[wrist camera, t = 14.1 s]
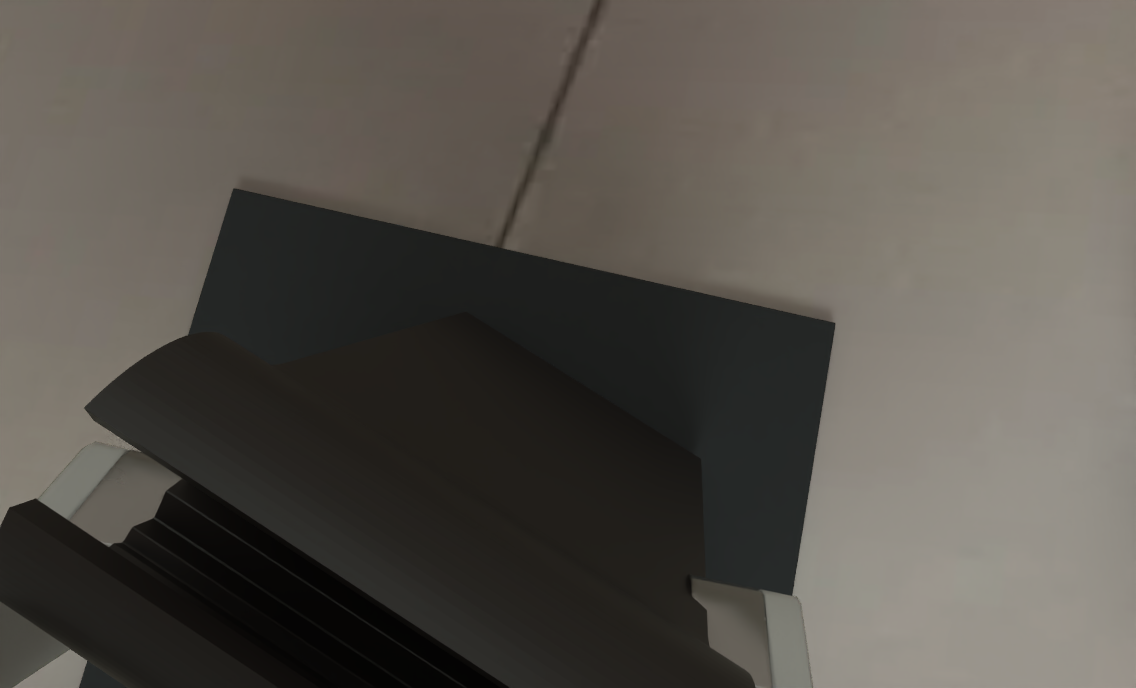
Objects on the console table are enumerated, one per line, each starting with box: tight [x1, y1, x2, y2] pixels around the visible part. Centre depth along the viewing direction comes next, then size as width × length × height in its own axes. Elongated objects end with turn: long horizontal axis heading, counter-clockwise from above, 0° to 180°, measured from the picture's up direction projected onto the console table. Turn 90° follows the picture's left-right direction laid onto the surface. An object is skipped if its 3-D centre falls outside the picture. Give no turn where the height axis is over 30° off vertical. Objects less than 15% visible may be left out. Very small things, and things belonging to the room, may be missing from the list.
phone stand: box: [0, 312, 756, 688], centre depth 13 cm, size 9×6×12 cm, turn 148°
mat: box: [79, 189, 835, 688], centre depth 19 cm, size 14×14×1 cm
